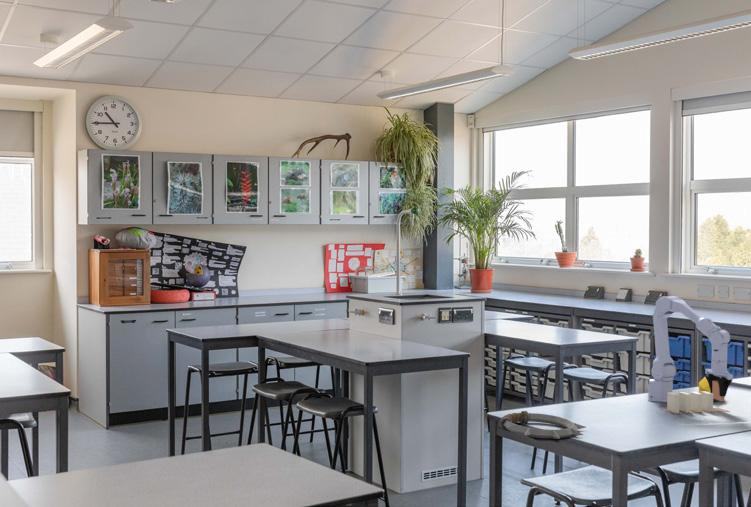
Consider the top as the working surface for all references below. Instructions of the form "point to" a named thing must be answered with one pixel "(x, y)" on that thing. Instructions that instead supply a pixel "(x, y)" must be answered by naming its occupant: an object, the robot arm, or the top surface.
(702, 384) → the yellow elongated lump
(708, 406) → the domino
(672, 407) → the domino
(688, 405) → the domino
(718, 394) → the domino
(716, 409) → the domino board
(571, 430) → the spiked ring
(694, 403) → the domino
